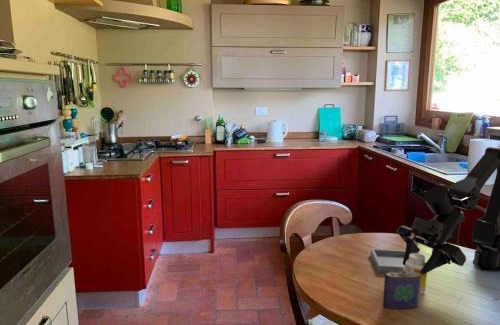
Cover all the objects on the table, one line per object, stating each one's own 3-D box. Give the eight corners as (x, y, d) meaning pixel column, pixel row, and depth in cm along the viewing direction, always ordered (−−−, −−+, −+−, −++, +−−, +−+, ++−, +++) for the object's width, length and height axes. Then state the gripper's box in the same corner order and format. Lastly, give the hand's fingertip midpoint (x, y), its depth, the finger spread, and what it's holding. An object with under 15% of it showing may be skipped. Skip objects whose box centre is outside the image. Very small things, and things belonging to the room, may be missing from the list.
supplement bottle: (428, 291, 107) (432, 256, 105) (418, 297, 103) (422, 262, 101) (409, 283, 111) (412, 249, 109) (399, 289, 107) (402, 255, 105)
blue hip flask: (414, 303, 101) (418, 265, 99) (420, 309, 98) (424, 270, 96) (380, 304, 100) (383, 266, 98) (385, 311, 97) (389, 271, 95)
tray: (410, 257, 128) (411, 250, 128) (423, 276, 116) (423, 268, 115) (370, 255, 130) (370, 248, 129) (378, 273, 117) (379, 265, 117)
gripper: (403, 198, 112) (373, 241, 110) (463, 217, 96) (429, 267, 93) (419, 220, 117) (391, 261, 115) (479, 241, 101) (447, 290, 98)
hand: (412, 269), depth 105 cm, fingers closed on supplement bottle, 5 cm apart
